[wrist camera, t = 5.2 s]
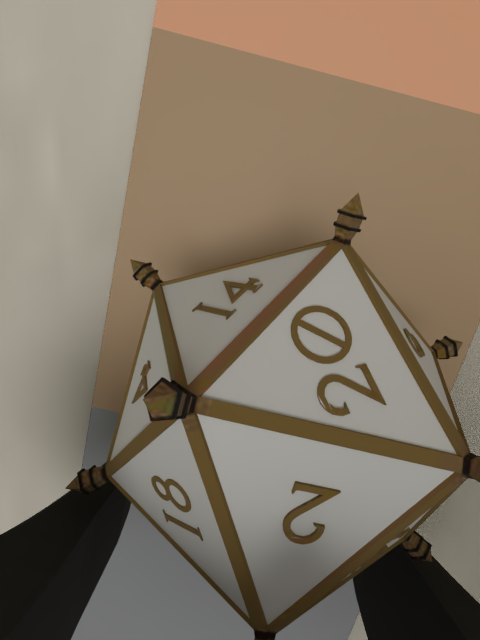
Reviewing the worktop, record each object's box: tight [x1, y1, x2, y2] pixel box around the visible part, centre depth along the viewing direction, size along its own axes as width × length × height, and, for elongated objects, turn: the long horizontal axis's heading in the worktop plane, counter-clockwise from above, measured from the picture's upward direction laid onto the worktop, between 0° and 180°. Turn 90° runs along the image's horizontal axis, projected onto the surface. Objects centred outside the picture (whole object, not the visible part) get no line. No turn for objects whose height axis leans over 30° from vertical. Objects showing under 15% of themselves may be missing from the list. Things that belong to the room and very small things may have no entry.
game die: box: [66, 192, 480, 640], centre depth 9 cm, size 9×8×10 cm
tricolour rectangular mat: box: [71, 0, 480, 640], centre depth 12 cm, size 12×36×1 cm, turn 166°
